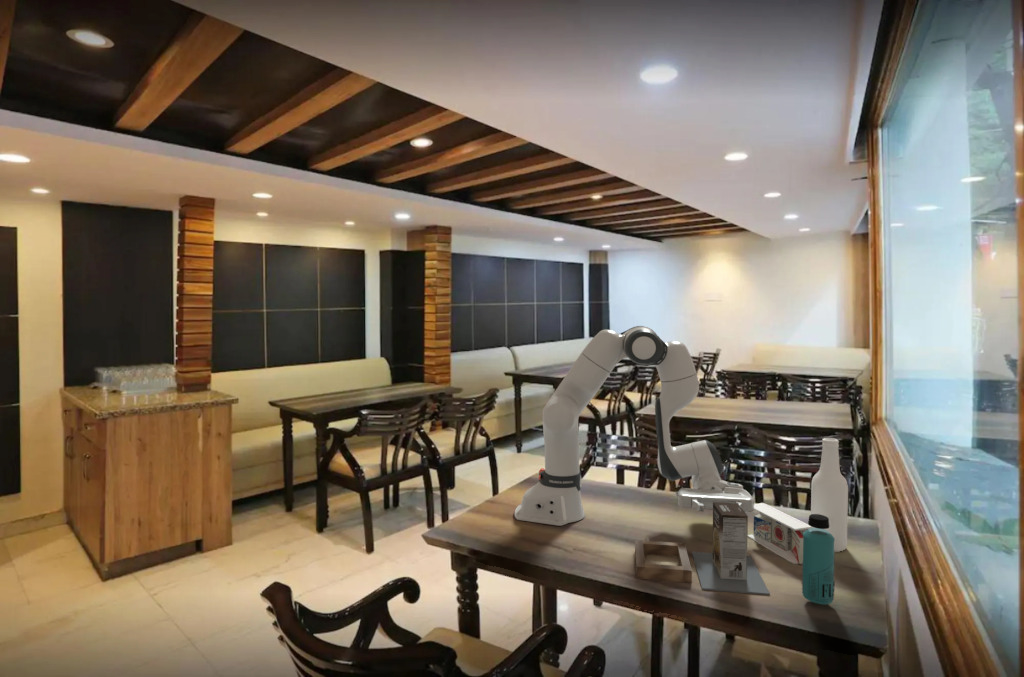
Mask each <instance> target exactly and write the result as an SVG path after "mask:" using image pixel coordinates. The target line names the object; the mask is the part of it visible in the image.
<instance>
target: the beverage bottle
mask: <svg viewBox="0 0 1024 677" xmlns="http://www.w3.org/2000/svg"><path fill="white" fill-rule="evenodd" d="M807 521H808V523H807V524H808V525H810V526H811V527H814V528H810V529H808V530H806V531H805V532H804V533H803V564H802V576H801V590H802V592H801V594H802V596H803V598H805V599H806V600H807V601H809V602H812V603H814V604H818V605H829V604H832V603H833V601H834V600H835V593H836V592H835V588H836V587H835V565H836V563H835V561H836V560H835V558H836V555H835V552H834V541H835V539H834V537H833V536H832V535H831V534H830V533H829V532H828V531H826V530H824V529H828V528H829V518H828V517H826V516H824V515H820V514H811V513H810V514H809V516H808V520H807Z"/></svg>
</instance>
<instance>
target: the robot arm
mask: <svg viewBox="0 0 1024 677" xmlns="http://www.w3.org/2000/svg"><path fill="white" fill-rule="evenodd" d="M626 358H628V359H629V360H630V361H632V362H633V363H634V364H638V365H643V366H646V365H647V366H649V365H650V366H655V368H656V371H657V373H658V377H659V380H660V384H661V385H660V393H659V397H657V398H656V399H655V402H654V403H655V404H654V413H655V415H654V416H655V418H654V419H655V430H656V440H657V467H658V471H659V473H660V475H661V476H662V477H663V478H665V479H666V480H669V481H671V482H675V481H679V480H681V479H684V478H689V477H691V484H692V485H691V486H692V488H688V487H683V488H680V489H679V490H676V491H675V496H676V497H677V498H678V499H677V500H678V501H677V504H678V506H679V507H680V508H684V509H685V508H687V509H695V510H697V512H704V510H710V511H711V510H712V511H713V502H726V503H738V504H739V505H740V507H741V508H742V509H743V511H744V512H745V513H746V512H747V513H751V512H754V511H755V510H754V504H755V500H754V497H753V496H752V495H751V494H750V492H748V491H747V490H746V489H744V486H743V485H742V484H741V483H735V482H729V481H726V480H723V479H722V478H721V476H722V474H723V470H724V468H723V467H724V466H723V462H722V458H721V456H720V454H719V451H718V450H717V448H716V445H715V444H713V443H712V442H711V441H709V440H707V439H704V440H699V441H693V442H690V443H687V444H686V443H685V444H682V445H677V446H672V445H671V433H670V432H671V431H670V421H671V420H672V418H673V417H674V416H675V415H677V413H678V412H680V411H681V410H683V409H684V408H686V407H687V406H688V405H690V404H691V403H692V402H693V401H694V400H695V399H696V398H697V396H698V394H699V391H700V384H699V383H700V382H699V378H698V374H697V370H696V367H695V363H694V361H693V359H692V356H691V353H690V352H689V349H688V348H687V346H686V344H684V343H683V342H681V341H678V340H670V341H666V342H665V341H664V340H662V339H661V338H660V336H659V335H658V334H657V333H656V331H654V330H653V329H651V328H650V327H648V326H644V325H635V326H632V327H631V328H628V329H627V330H625V331H623V332H620V333H618V332H616V331H614V330H612V329H607V328H606V329H602V330H600V331H599V332H598V333H597V334H596V335H594V336H593V337H592V339H591V340H590V341H589V342H588V344H587V345H586V346H585V347H584V348H583V350H581V353H580V354H579V356H577V359H576V360H575V361H574V363H573V365H572V366H571V367H570V369H569V370H568V372H567V373H566V375H565V376H564V377H563V379H562V380H561V382H560V383H559V385H558V386H557V388H556V389H555V390H554V392H553V393H552V395H551V397H550V398H549V399H548V401H547V402H546V404H545V405H544V407H543V409H542V414H541V415H542V416H541V418H542V432H543V442H544V443H543V444H544V468H543V467H542V468H540V469H539V471H538V482H537V483H536V484H534V485H533V486H531V487H530V488H528V489H527V490H526V491H525V493H524V494H523V496H522V500H521V503H520V504H518V506H517V507H516V508H515V510H514V518H515V519H516V520H517V521H524V522H525V521H526V522H530V523H539V524H546V525H551V526H559V527H560V526H564V525H567V524H570V523H574V522H578V521H580V520H582V519H584V518H585V516H586V515H585V511H584V506H583V502H582V495H581V488H582V475H581V474H582V472H581V470H580V440H579V439H580V436H579V434H580V433H579V417H580V416H581V414H582V413H583V411H584V410H585V409H586V407H587V406H588V405H589V403H591V401H592V400H593V398H594V397H595V395H596V394H597V393H598V391H599V390H600V389H601V388H602V386H603V385H604V383H605V382H606V380H607V379H608V377H609V376H610V375H611V373H612V372H613V370H614V369H615V367H616V366H617V364H618V363H619V362H620V361H622V360H623V359H626Z"/></svg>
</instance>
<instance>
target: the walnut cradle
mask: <svg viewBox="0 0 1024 677" xmlns="http://www.w3.org/2000/svg"><path fill="white" fill-rule="evenodd" d="M634 544H635V547H634V548H635V550H634V551H635V568H636V579H641V580H655V581H656V580H657V581H664V582H665V581H666V582H679V583H689V584H690V583H691V584H692V583H693V582H692V581H693V580H692V579H693V576H692V575H693V572H692V567H691V562H690V559H689V554H688V551H687V548H686V547H687V546H686V543H685V542H684V543H683V542H674V541H673V542H671V541H654V540H642V539H641V540H640V539H635V542H634ZM645 555H647V556H648V555H649V556H660V557H661V556H662V557H676V558H677V560H678V565H669V564H656V563H646V562H645V561H646V560H645Z"/></svg>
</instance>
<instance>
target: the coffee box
mask: <svg viewBox="0 0 1024 677" xmlns="http://www.w3.org/2000/svg"><path fill="white" fill-rule="evenodd" d="M748 525H749V516H748V514H747V513H746V512H744V511H743V509H742V508H741V507H740V505H739V504H738V503H726V502H713V510H712V553H713V564H714V566H715V568H716V570H717V572H718V574H719V576H720V578H721V579H736V580H746V579H747V556H748V538H749V537H748V535H749V534H748V532H749V530H748V529H749V527H748Z"/></svg>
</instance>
